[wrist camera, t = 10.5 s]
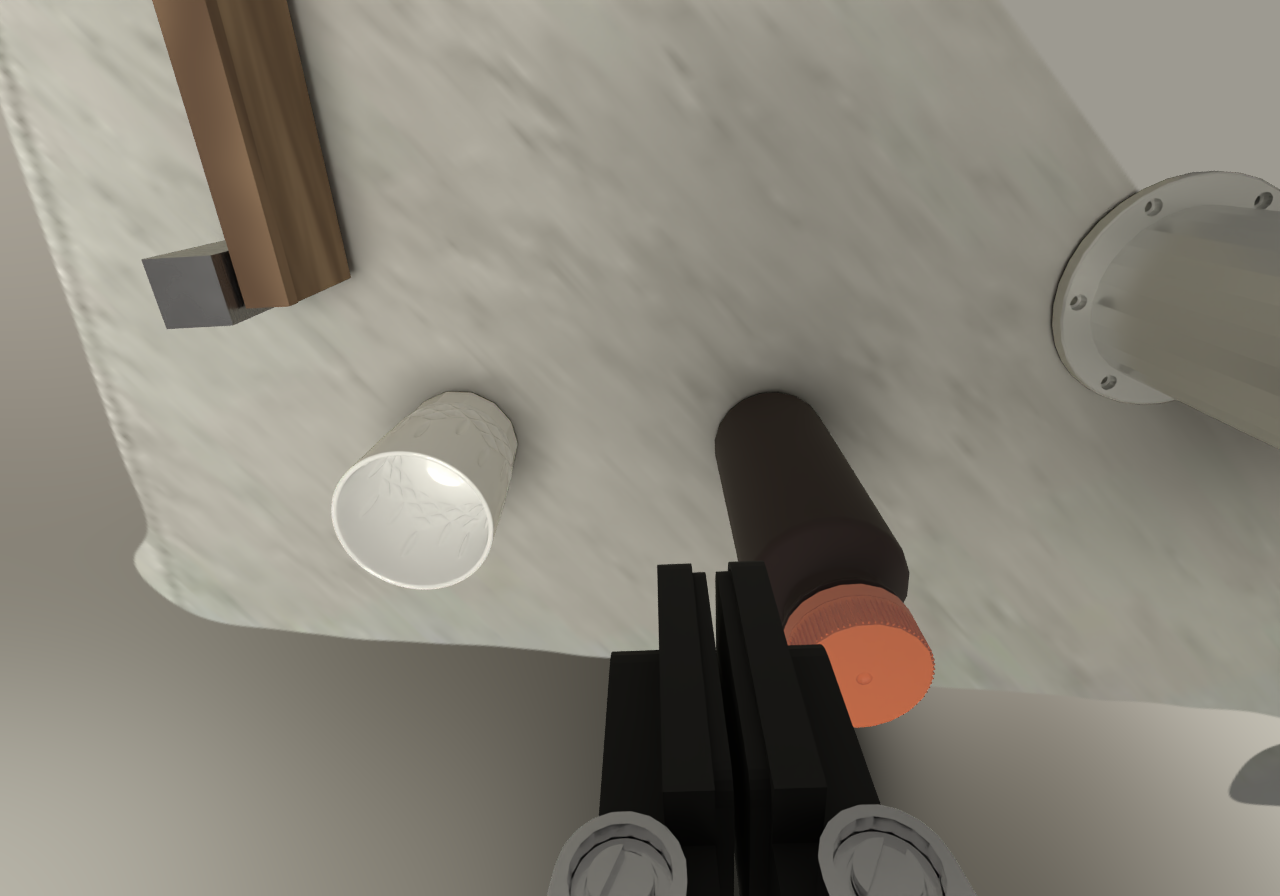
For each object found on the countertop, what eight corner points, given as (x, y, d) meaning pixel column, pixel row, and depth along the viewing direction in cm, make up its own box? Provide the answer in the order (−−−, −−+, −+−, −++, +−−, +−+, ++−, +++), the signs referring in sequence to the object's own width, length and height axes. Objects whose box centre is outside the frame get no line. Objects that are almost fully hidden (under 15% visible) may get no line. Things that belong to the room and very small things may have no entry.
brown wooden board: (268, -87, 29) (163, -151, 23) (352, 277, 36) (289, 306, 30) (224, -84, 29) (107, -148, 23) (316, 279, 36) (246, 308, 30)
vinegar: (815, 378, 39) (960, 582, 21) (829, 476, 42) (967, 731, 24) (704, 403, 40) (750, 620, 22) (724, 498, 43) (781, 761, 25)
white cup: (382, 393, 40) (304, 467, 31) (507, 370, 39) (464, 438, 30) (425, 504, 43) (366, 600, 34) (541, 484, 42) (512, 577, 33)
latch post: (309, 229, 36) (210, 255, 28) (324, 285, 37) (232, 325, 29) (256, 233, 36) (141, 259, 28) (272, 288, 37) (166, 328, 29)
